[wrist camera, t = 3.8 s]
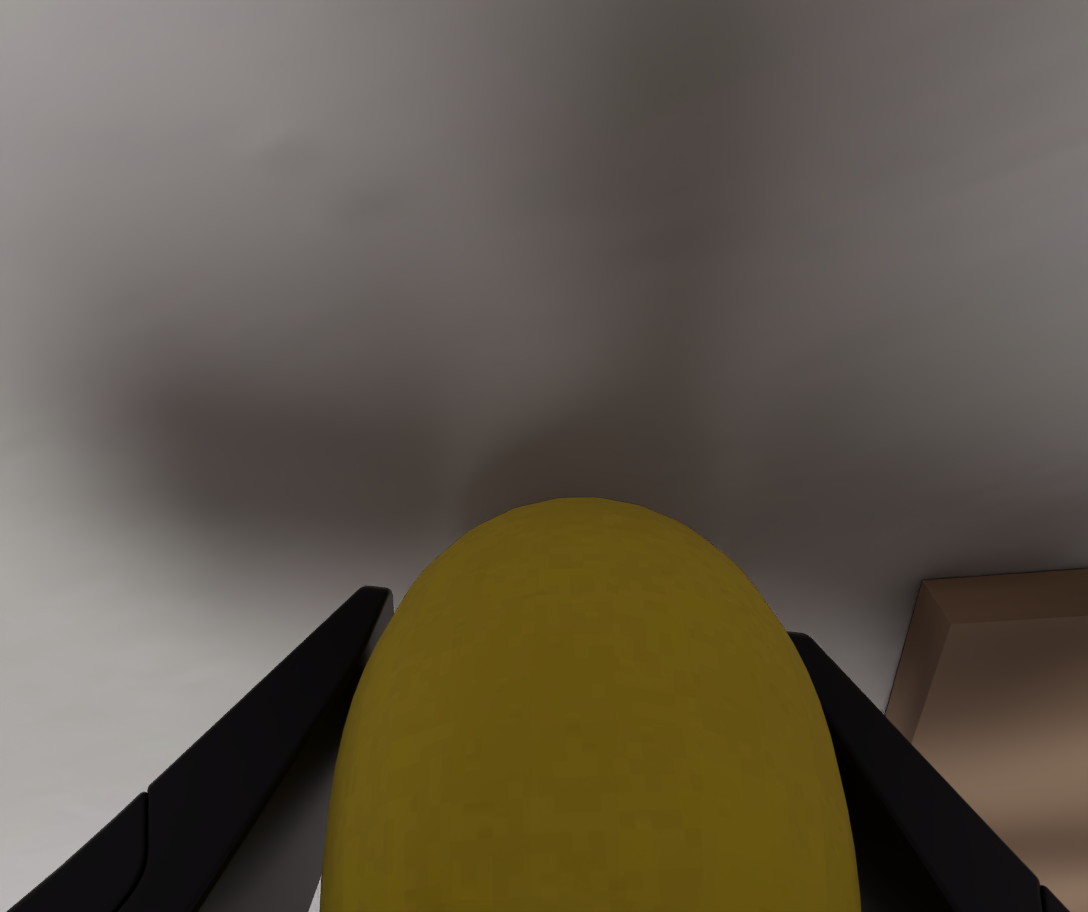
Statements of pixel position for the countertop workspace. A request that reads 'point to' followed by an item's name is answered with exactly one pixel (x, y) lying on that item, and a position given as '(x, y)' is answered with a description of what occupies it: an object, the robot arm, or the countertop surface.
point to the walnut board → (1007, 710)
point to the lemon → (586, 734)
